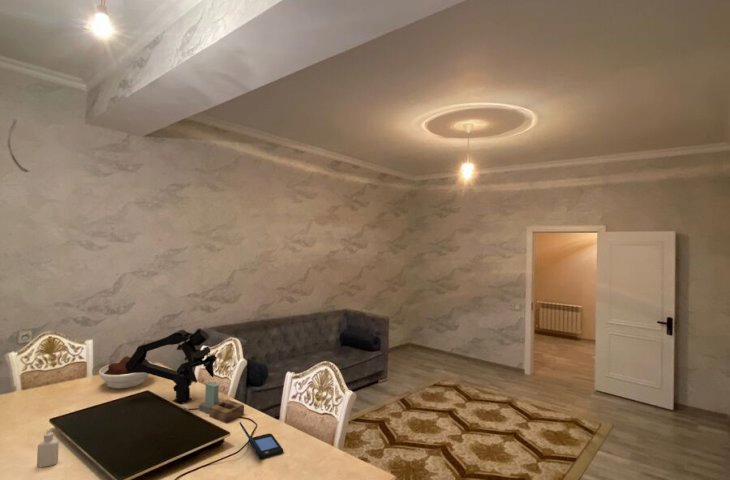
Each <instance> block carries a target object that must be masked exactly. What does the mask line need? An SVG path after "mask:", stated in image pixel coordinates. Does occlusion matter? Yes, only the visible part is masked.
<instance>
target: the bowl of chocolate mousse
mask: <svg viewBox="0 0 730 480" xmlns="http://www.w3.org/2000/svg"><path fill="white" fill-rule="evenodd" d="M130 358H131V357H130V356H128V355H127V356H124V357H122V358H121V360H120V361H118V362H113V363H110V364H107V365H105V366H103V367H102V368H100V369H99V371H98V375H99V378H101V380H103V381H104V383H105V385H106V386H107V387H108V388H112V389H127V388H133V387H136V386H139V385H141V384H142V383H144V382H145V381H146V379H147V377H148V376H149V375H150V374H148V373H144V372H143V373H132V372H128V371H127V370H126V367H125V366H126V363H127V362H128V361H129V360H130ZM147 361H148V362H149V363H151V364H154V363H153V362H152V361H149V360H147Z"/></svg>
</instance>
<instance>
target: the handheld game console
mask: <svg viewBox="0 0 730 480" xmlns="http://www.w3.org/2000/svg"><path fill="white" fill-rule="evenodd" d="M239 425H240V427H241V428H242V431H243V432H244V434H245V435H246V437H247V438H248V442H249V444H250V445H251V446H252V448H253V449H254V450H255V453H256V455H257V457H258V459H259V460H263V459H266V458H270V457H274V456H278V455H281V454H283V453H284V448H282V446H281V444H280V443H279V442H278V440H277V439H276V437H275V436H274V435H273V434H272V433H265V434H261V435H257V436H252V435H250V434H249V432H248V431H247V429H246V428H245V427H244V425H243V423H242V422H241V421H239Z"/></svg>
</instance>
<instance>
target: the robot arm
mask: <svg viewBox="0 0 730 480" xmlns="http://www.w3.org/2000/svg"><path fill="white" fill-rule="evenodd" d="M209 339H210V336H209V334H208V332H206V331H205V330H203V329H201V327H200V328H198V329H197V330H196V331H195V332H194V333H192V332H188V331H186V330H185V329H178V330H177V331H175V332H173V333H172V334H171V333H170V334H169V335H168V336H165V337H162V338H159V339H156V340H153V341H150V342H147V343H142V344H141V345H138V346H137V348H136V349H135V351H134V353H133V354H132V356H131V357H130V360H129V361H128V362H127V363H126V366H125V367H126V370H127V371H128V372H132V373H143V372H144V373H148V374H149V375H152V376H155V377H158V378H159V377H160V378H162V379H165V380H169V381H172V382H174V384H175V385H174V386H173V391H174V392H175V399H173V400H172V402H174V403H176V404H178V405H182V404H185V403H188V402H190V401H192V400H193V398H191V392H190V391H191V388H190V386H192V384H193V383H195V384H196V383H197V384H198V380H197V377H196V374H195V372H194V370H193V368H196V367H200V366H202V365H203V366H204V369H205V370H206V371H207V373H208V375H209V376H210V377H211V378H214V376H215V374H214V363H215V362H216V360H217V357H216V354H211V355H209V354H210V353H211V348H210V347H209V346H205V347H203V348H202V349H197V347H200V346H201V345H203V344H204V343H205V342H207V341H208V340H209ZM170 345H171V346H173V345H177V348H176V351H182V352H183V354H184V356H185V358H184V360H185V361H186V362H183V363H181V364H180V365H179V366H178V367H177V368H176V370H175V369H171V368H168V367H164V366H161V365H159V364H158V365H157V364H154V363H153V364H151V363H149V362H150V361H149V360H148V359H146V358H147V354H148V352H149V351H153V350H156V349H159V348H162V347H165V346H170ZM148 361H149V362H148Z"/></svg>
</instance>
